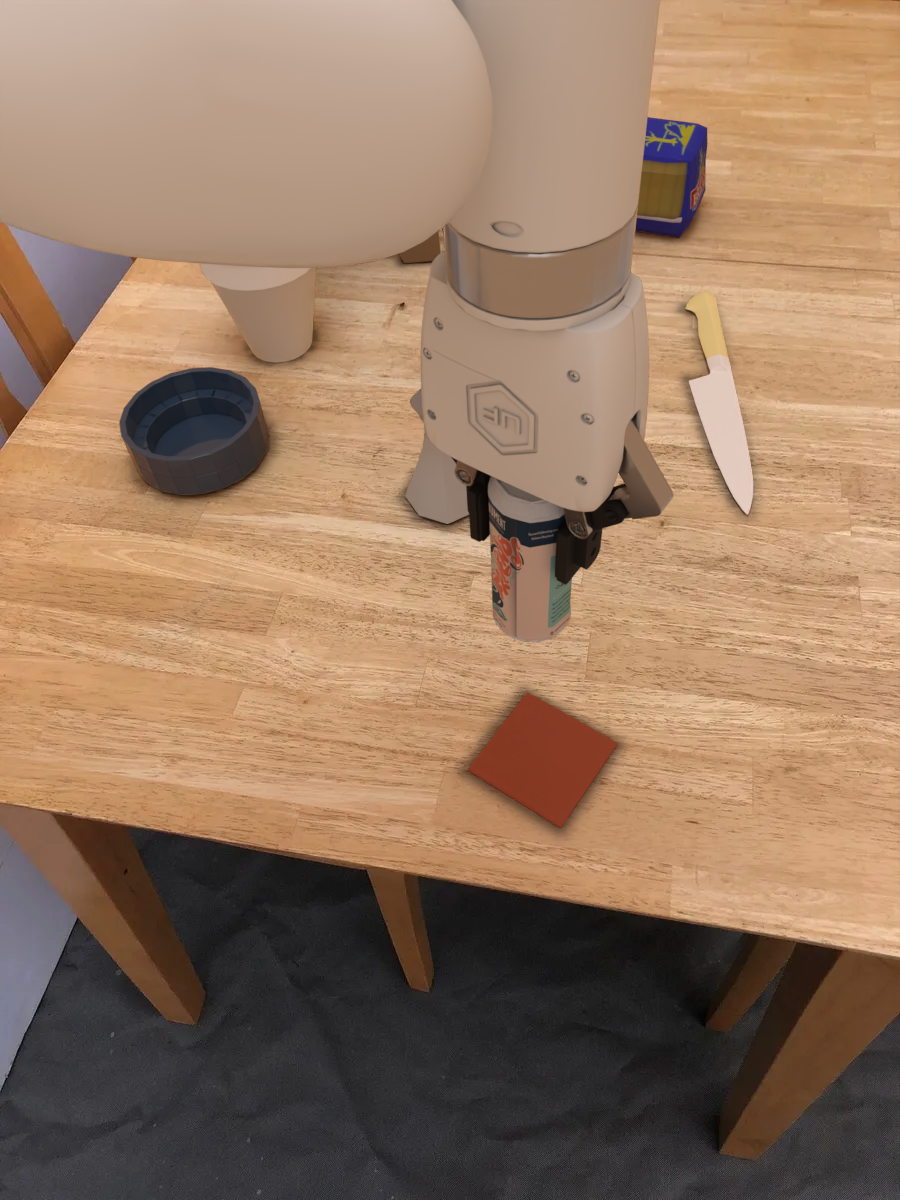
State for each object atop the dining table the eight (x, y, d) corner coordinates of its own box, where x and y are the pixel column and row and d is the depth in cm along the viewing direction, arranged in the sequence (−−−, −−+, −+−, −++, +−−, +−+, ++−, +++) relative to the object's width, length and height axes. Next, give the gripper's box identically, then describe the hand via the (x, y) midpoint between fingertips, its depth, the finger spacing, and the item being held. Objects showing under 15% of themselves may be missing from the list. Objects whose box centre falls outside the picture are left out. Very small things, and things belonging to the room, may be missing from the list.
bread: (687, 246, 108) (700, 159, 100) (488, 215, 115) (486, 131, 107) (706, 202, 114) (720, 116, 106) (516, 175, 120) (515, 92, 112)
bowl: (203, 518, 86) (188, 480, 82) (109, 464, 91) (90, 426, 87) (297, 436, 92) (287, 396, 88) (204, 390, 97) (191, 351, 93)
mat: (560, 828, 65) (560, 826, 65) (468, 771, 68) (467, 768, 68) (617, 745, 69) (617, 742, 69) (527, 694, 72) (527, 691, 72)
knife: (715, 514, 82) (768, 507, 81) (671, 293, 102) (713, 285, 101) (716, 524, 83) (768, 517, 82) (672, 303, 103) (714, 295, 102)
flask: (391, 499, 86) (378, 416, 78) (444, 457, 89) (437, 373, 81) (448, 536, 83) (440, 454, 75) (501, 491, 86) (499, 408, 78)
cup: (277, 297, 107) (250, 183, 96) (359, 331, 102) (341, 214, 91) (202, 355, 101) (165, 240, 90) (286, 393, 96) (257, 276, 85)
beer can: (496, 581, 58) (492, 439, 49) (572, 587, 58) (583, 443, 48) (488, 644, 55) (482, 505, 46) (568, 650, 55) (578, 511, 45)
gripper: (316, 230, 38) (371, 526, 53) (689, 366, 32) (635, 662, 46) (423, 152, 42) (447, 449, 56) (779, 259, 35) (703, 565, 50)
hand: (532, 542), depth 51 cm, fingers closed on beer can, 4 cm apart
